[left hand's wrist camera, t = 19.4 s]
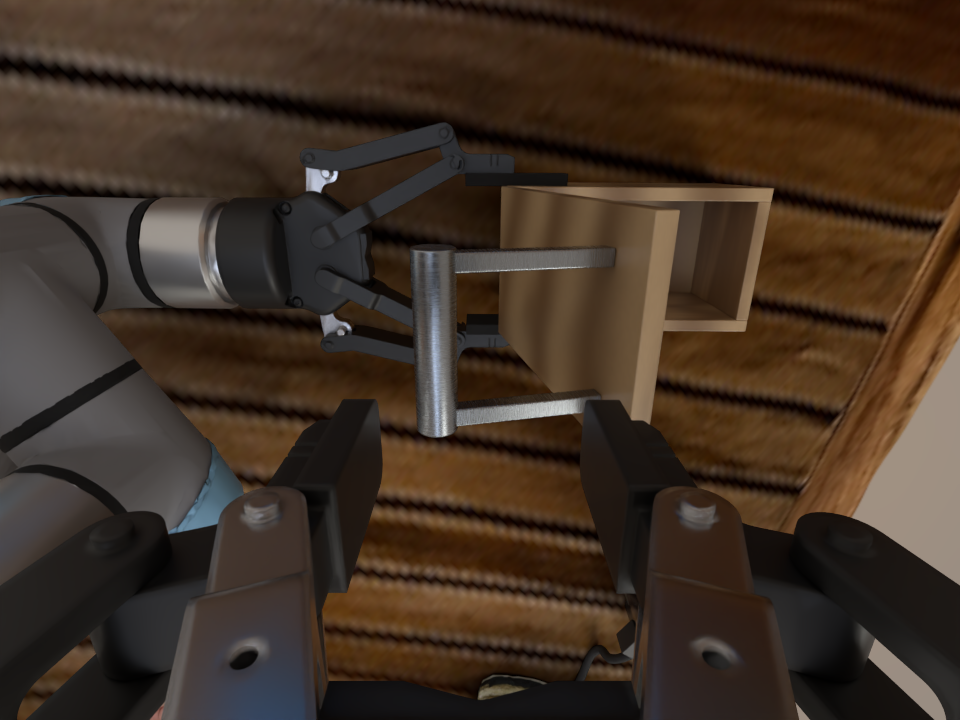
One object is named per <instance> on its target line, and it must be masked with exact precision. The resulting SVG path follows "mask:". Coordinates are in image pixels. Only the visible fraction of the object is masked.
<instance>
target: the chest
mask: <svg viewBox="0 0 960 720" xmlns="http://www.w3.org/2000/svg"><path fill="white" fill-rule="evenodd" d="M502 187H520V188H528V189H535V190H542V191H549V192H556V193H563V194H571V195H578V196H585V197H592V198H599V199H606V200H614V201H621V202H628V203H635V204H642V205H650V206H657V207H664V208H671V209H678V210H680V214H679V221H678V228H677V235H676V242H675V250H674V257H673V264H672V271H671V278H670V285H669V292H668V299H667V306H666V314H665V321H664V328H663V331H745V329H746V324H747V319H748V315H749V310H750V305H751V300H752V295H753V290H754V285H755V280H756V275H757V270H758V265H759V260H760V255H761V250H762V245H763V240H764V235H765V230H766V225H767V220H768V215H769V210H770V205H771V200H772V195H773V190H774V189H773V188H764V187H752V186H740V185H728V184H715V183H606V182H568V183H567V186H502Z"/></svg>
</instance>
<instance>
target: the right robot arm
mask: <svg viewBox="0 0 960 720" xmlns="http://www.w3.org/2000/svg"><path fill="white" fill-rule="evenodd" d="M438 147H439V148H440V150H441V153H442V156H443V159H442V160H440V161H439V162H437V163H435V164H433V165H432V166H430V167H428V168H426V169H425V170H423V171H421V172H419V173H417V174H416V175H414V176H412V177H410V178H409V179H407V180H405V181H403V182H402V183H400V184H398V185H396V186H394V187H393V188H391V189H389V190H387V191H386V192H384V193H382V194H380V195H379V196H377V197H375V198H373V199H372V200H370V201H368V202H366V203H364V204H362V205H360V206H359V207H357V208H355V209H353V210H349V209H348V208H346V207H345V206H344V205H342V204H341V203H339V202H338V201H337V200H335V199H334V198H332V197H331V196H330V195H328V194H327V193H325V189H326V186H327V185H328V184H330V183H334V182H337V181H338V180H339V179H340V178H341V171H344V170H354V169H359V168H362V167H366V166H370V165H374V164H377V163H381V162H385V161H389V160H393V159H396V158H400V157H404V156H408V155H411V154H415V153H419V152H423V151H426V150H430V149H434V148H438ZM300 161H301V163H302V164H303V165H304V166H305V167H306V192H304V193H302V194H300V195H299V196H297V197H294V198H234V199H232V200H231V201H228V200H226V199H224V198H197V197H163V198H150V199H141V198H106V197H67V196H64V195H38V196H27V197H22V198H9V199H4V200H0V585H2V584H3V583H5V582H6V581H8V580H9V579H11V578H12V577H13V576H15V575H16V574H18V573H19V572H21V571H22V570H24V569H25V568H27V567H28V566H30V565H31V564H33V563H34V562H36V561H37V560H38V559H40V558H41V557H43V556H44V555H46V554H47V553H49V552H50V551H52V550H53V549H55V548H56V547H58V546H59V545H60V544H62V543H63V542H65V541H66V540H68V539H69V538H71V537H72V536H74V535H75V534H77V533H78V532H80V531H81V530H83V529H84V528H86V527H88V526H90V525H92V524H94V523H95V522H98V521H100V520H102V519H105V518H108V517H111V516H114V515H117V514H121V513H126V512H132V511H150V512H154V513H157V514H159V515H161V516H162V517H163V518H164V520H165V523H166V526H167V530H168V534H172V533H177V532H182V531H187V530H192V529H197V528H202V527H207V526H211V525H215V524H218V520H219V517H220V514H221V512H222V511H223V509H224V508H225V507H226V506H227V505H228V504H229V503H230V502H232V501H233V500H235V499H236V498H238V497H239V496H241V495H243V494H244V492H243V487H242V484H241V483H240V481H239V480H238V479H237V477H236V476H235V475H234V473H233V472H232V470H231V469H230V468H229V466H228V465H227V464H226V462H225V461H224V460H223V458H222V457H221V455H220V454H219V453H218V451H217V449H216V447H215V446H214V444H213V443H212V442H211V441H209V440H208V439H207V438H205V437H204V436H203V435H202V434H201V433H200V432H199V431H198V430H197V429H196V427H195V426H194V425H193V424H192V423H191V422H190V421H189V420H188V419H187V417H186V416H185V415H184V414H183V413H182V412H181V411H180V410H179V409H178V407H177V406H176V405H175V404H174V403H173V402H172V401H171V400H170V399H169V397H168V396H167V395H166V394H165V393H164V392H163V391H162V390H161V389H160V387H159V386H158V385H157V384H156V383H155V382H154V381H153V380H152V379H151V378H150V376H149V375H148V374H147V373H146V372H145V371H144V370H143V368H142V367H141V366H140V365H139V364H138V362H137V361H136V360H135V359H134V357H133V356H132V355H131V354H130V353H129V352H128V351H127V349H126V348H125V347H124V346H123V345H122V344H121V343H120V341H119V340H118V339H117V338H116V337H115V336H114V335H113V333H112V332H111V331H110V330H109V329H108V328H107V327H106V325H105V324H104V323H103V322H102V321H101V320H100V318H99V317H98V316H97V315H98V314H101V313H103V312H106V311H108V310H113V309H119V308H164V307H165V308H225V309H232V308H235V307H237V306H238V305H240V306H241V307H243V308H266V309H297V308H300V309H307V310H310V311H312V312H314V313H316V314H318V315H320V318H321V323H322V327H323V332H324V338H323V339H322V341H321V347H322V349H323V350H324V351H326V352H329V353H332V352H343V351H353V350H354V351H358V352H362V353H367V354H371V355H375V356H379V357H384V358H388V359H392V360H396V361H401V362H405V363H409V364H414V341H413V337H411V336H407V335H402V334H398V333H394V332H390V331H386V330H382V329H377V328H373V327H369V326H362V325H354V323H353V322H352V321H351V320H350V319H347V318H343V317H341V316H339V315H338V313H337V310H338V309H339V308H341V307H342V306H343V305H345V304H346V303H347V302H349V301H350V300H351V301H353V302H355V303H357V304H359V305H362V306H364V307H366V308H368V309H374V310H377V311H379V312H381V313H383V314H385V315H387V316H389V317H391V318H393V319H395V320H397V321H399V322H401V323H403V324H405V325H407V326H409V327H411V328H413V316H412V299H411V298H409V297H407V296H405V295H403V294H401V293H399V292H397V291H395V290H393V289H391V288H389V287H388V286H387V285H386V284H384V283H383V282H381V281H379V280H377V279H375V278H373V275H374V274H375V269H374V262H373V259H372V256H371V247H372V241H373V240H372V230H369V227H368V225H367V224H369V223H371V222H373V221H374V220H376V219H378V218H380V217H381V216H383V215H385V214H387V213H389V212H390V211H392V210H394V209H396V208H398V207H399V206H401V205H403V204H405V203H407V202H408V201H410V200H412V199H414V198H415V197H417V196H419V195H421V194H423V193H424V192H426V191H428V190H430V189H432V188H433V187H435V186H437V185H439V184H441V183H442V182H444V181H446V180H448V179H450V178H451V177H453V176H455V175H457V174H466V186H567V183H568V174H565V173H514V161H515V157H512V156H510V155H508V154H467V153H465V152H464V151H462V149H461V148H460V146H459V143H458V140H457V137H456V134H455V131H454V129H453V128H452V127H451V126H450V125H449V124H448V123H438V124H435V125H431V126H427V127H424V128H420V129H416V130H413V131H409V132H405V133H401V134H398V135H394V136H390V137H387V138H383V139H379V140H376V141H372V142H368V143H364V144H361V145H357V146H353V147H350V148H346V149H342V150H339V151H333V150H324V149H314V148H305V149H304V150H302V152H301V153H300ZM498 329H499V314H467V323H466V325H465V323H463V322H462V324H460V323H458V322H457V362H458V359H459V357H460V354H461V352H462V351H463V350H464V349H465V348H468V347H505V346H508V345H509V343H508V342H507V341H506V340H505V339H504V338H503V337H502V336H501V335H500V333H499V332H498Z"/></svg>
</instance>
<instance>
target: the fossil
mask: <svg viewBox="0 0 960 720" xmlns="http://www.w3.org/2000/svg"><path fill="white" fill-rule="evenodd" d="M543 684H547V683H545V682H542V681H539V680H536V679H532V678H525V677H519V676H516V677H512V676H509V675H492V676H490V677H488V678H486V679H484V680H483V681H482V683H481V685H480V687H479V692H478V699H477V700H485V699H490V698H494V697H498V696H501V695H505V694H509V693H513V692H517V691H521V690H524V689H528V688H532V687H536V686H540V685H543Z"/></svg>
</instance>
